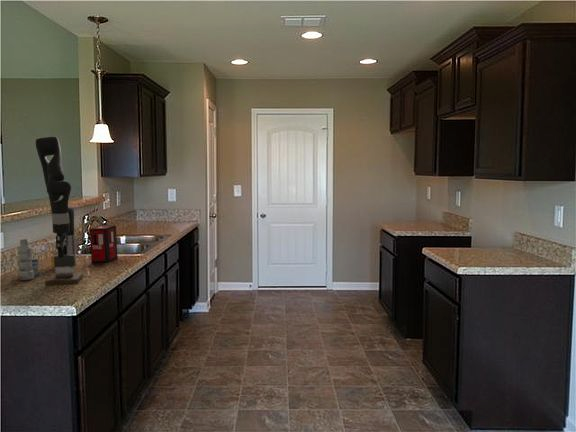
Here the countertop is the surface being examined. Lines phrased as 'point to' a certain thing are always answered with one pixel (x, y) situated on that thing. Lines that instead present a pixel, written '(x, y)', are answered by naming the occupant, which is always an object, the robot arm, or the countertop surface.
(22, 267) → the plastic bottle
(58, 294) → the countertop surface
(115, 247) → the cleaning product box
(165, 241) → the countertop surface
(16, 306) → the countertop surface
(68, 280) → the coupling base
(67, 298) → the countertop surface
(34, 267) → the medicine box
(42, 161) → the robot arm
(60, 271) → the grey piece
